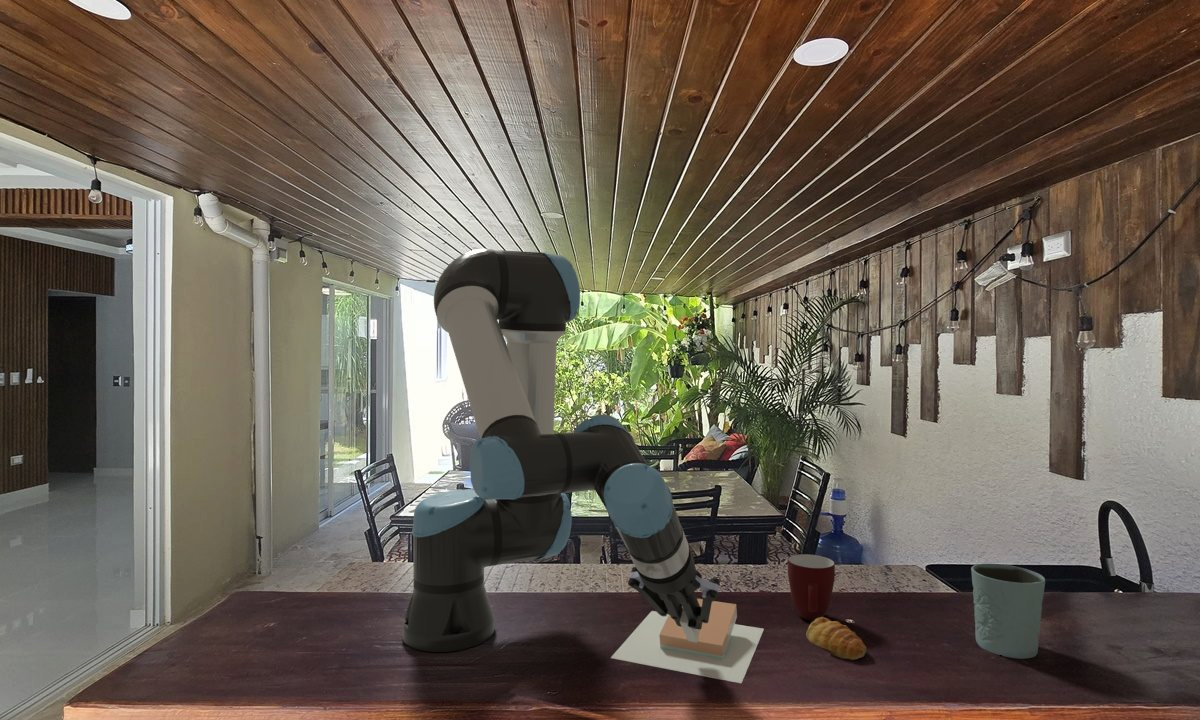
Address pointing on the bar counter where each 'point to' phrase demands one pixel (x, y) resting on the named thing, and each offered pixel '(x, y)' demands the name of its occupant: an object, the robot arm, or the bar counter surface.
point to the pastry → (835, 638)
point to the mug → (811, 584)
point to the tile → (703, 632)
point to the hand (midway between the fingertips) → (694, 633)
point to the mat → (648, 652)
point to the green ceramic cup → (1007, 609)
